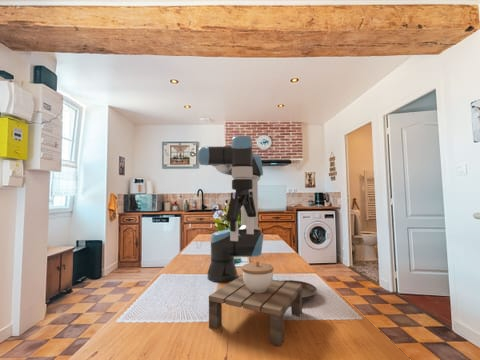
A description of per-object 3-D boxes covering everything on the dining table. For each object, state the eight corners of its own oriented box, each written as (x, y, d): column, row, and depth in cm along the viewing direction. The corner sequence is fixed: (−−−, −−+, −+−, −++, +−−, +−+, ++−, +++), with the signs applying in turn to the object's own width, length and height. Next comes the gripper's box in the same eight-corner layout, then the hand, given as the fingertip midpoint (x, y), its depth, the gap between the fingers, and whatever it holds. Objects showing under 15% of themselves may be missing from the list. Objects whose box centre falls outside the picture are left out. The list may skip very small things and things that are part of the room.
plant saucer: (258, 290, 119) (258, 282, 119) (299, 284, 126) (298, 277, 126) (282, 309, 100) (282, 300, 100) (328, 301, 107) (327, 292, 107)
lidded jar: (256, 281, 100) (256, 256, 100) (279, 289, 92) (279, 261, 93) (235, 289, 92) (235, 261, 93) (259, 298, 85) (258, 268, 85)
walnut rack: (242, 300, 108) (242, 274, 108) (302, 312, 97) (301, 284, 97) (208, 327, 87) (208, 295, 87) (280, 346, 76) (279, 310, 76)
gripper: (246, 179, 111) (247, 231, 111) (215, 178, 89) (216, 243, 88) (263, 179, 108) (264, 232, 108) (236, 178, 85) (236, 245, 85)
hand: (242, 237), depth 98 cm, fingers open, 13 cm apart
